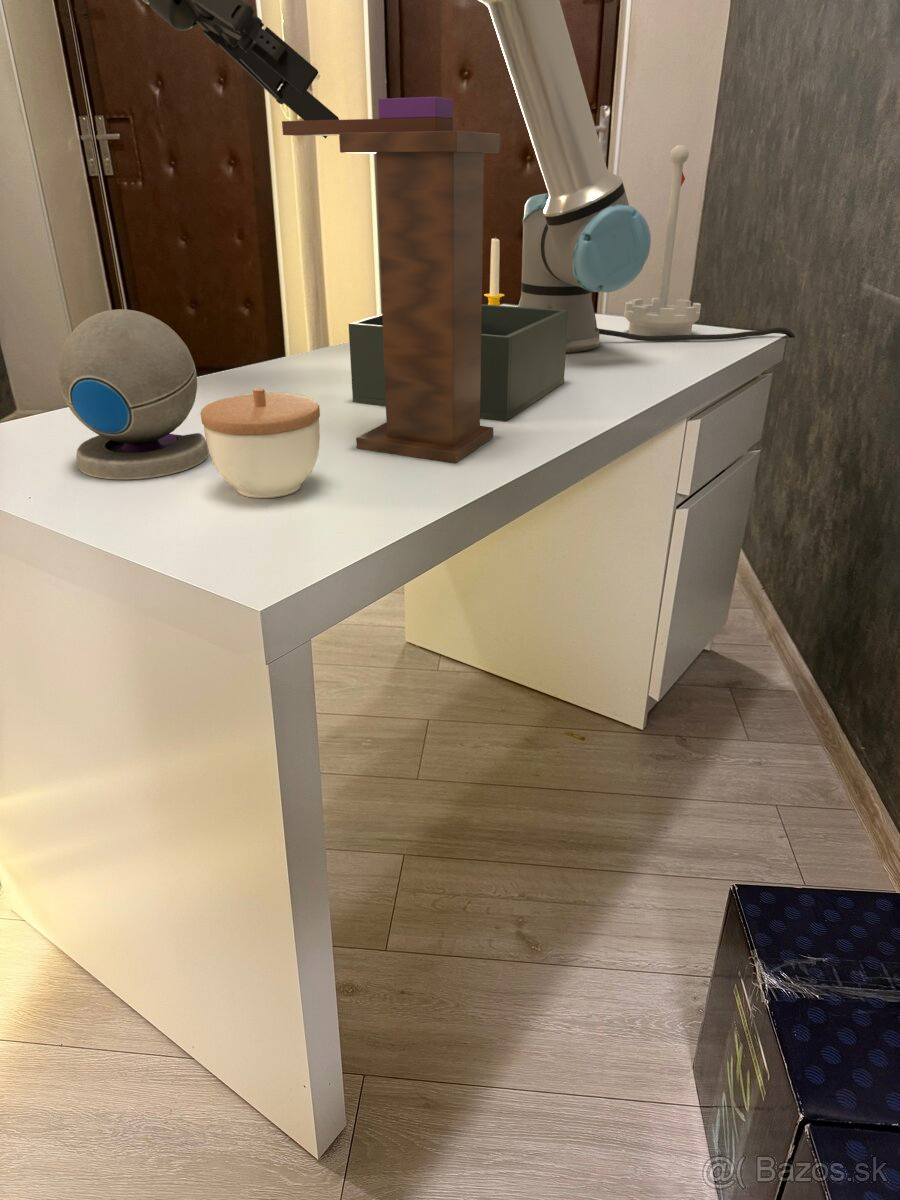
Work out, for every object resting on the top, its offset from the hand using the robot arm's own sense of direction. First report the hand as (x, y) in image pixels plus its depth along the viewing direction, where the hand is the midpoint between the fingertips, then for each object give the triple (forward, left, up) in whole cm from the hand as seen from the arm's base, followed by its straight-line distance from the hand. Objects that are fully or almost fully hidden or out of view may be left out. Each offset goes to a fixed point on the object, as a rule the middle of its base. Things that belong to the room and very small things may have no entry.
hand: (322, 107), depth 93 cm
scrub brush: (+3, +16, -3) cm, 17 cm away
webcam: (+28, +11, -33) cm, 45 cm away
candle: (-50, -36, -33) cm, 70 cm away
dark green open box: (-16, +5, -33) cm, 37 cm away
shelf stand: (0, +22, -33) cm, 40 cm away
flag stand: (-69, -11, -33) cm, 77 cm away
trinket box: (+20, +26, -33) cm, 47 cm away
